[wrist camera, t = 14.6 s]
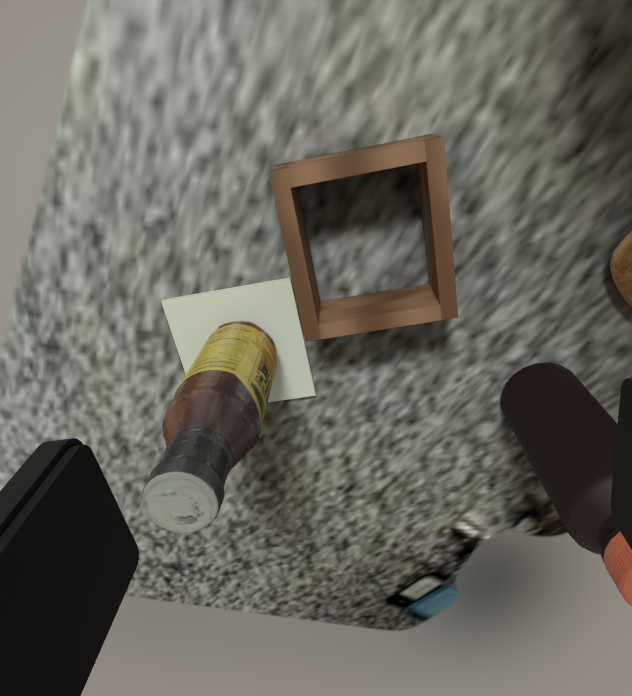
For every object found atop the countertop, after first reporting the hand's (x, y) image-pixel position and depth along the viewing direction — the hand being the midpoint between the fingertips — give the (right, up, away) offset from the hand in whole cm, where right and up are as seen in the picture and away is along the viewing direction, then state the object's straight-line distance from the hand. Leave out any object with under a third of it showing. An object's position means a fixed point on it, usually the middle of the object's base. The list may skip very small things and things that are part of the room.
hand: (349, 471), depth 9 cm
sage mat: (-7, +2, +36) cm, 36 cm away
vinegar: (+19, -2, +37) cm, 41 cm away
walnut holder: (+3, +11, +31) cm, 33 cm away
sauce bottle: (-7, +2, +35) cm, 36 cm away
